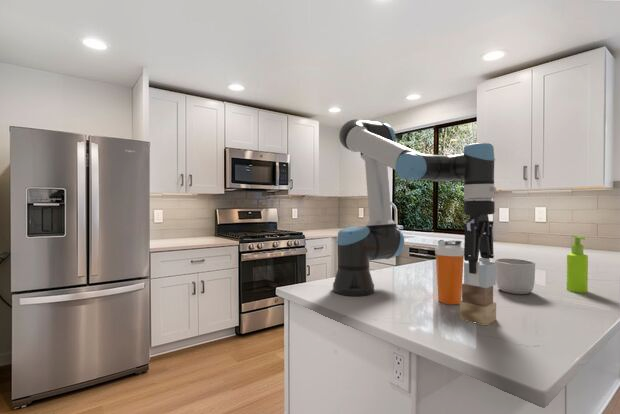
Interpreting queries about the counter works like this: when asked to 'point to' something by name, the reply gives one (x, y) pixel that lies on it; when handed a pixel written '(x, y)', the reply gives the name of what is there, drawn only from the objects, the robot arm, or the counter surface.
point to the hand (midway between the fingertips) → (479, 282)
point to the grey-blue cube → (483, 274)
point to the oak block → (478, 313)
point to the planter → (515, 275)
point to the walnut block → (477, 295)
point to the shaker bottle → (449, 271)
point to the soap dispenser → (577, 268)
